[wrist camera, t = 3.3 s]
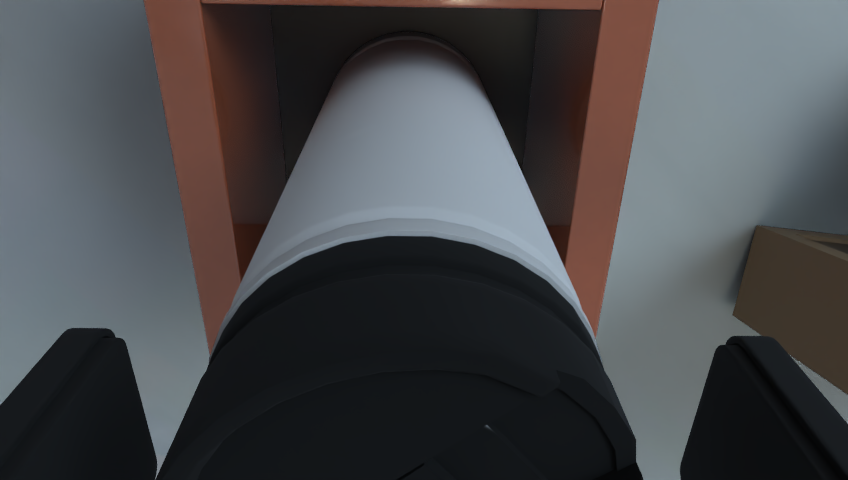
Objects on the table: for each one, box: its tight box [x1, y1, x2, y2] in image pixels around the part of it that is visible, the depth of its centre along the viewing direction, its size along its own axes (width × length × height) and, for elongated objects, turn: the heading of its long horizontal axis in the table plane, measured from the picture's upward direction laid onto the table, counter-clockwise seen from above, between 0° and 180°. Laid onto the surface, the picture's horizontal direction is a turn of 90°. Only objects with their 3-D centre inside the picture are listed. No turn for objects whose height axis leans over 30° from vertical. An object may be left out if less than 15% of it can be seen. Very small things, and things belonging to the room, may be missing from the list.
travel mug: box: [156, 32, 643, 480], centre depth 16 cm, size 6×7×20 cm
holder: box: [144, 0, 659, 355], centre depth 21 cm, size 13×13×8 cm
